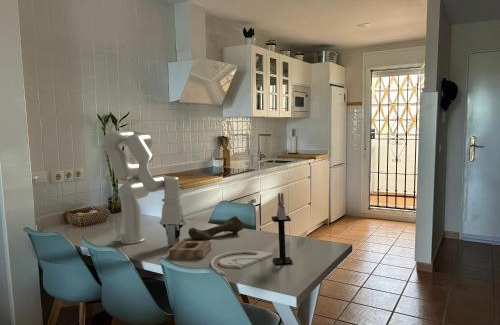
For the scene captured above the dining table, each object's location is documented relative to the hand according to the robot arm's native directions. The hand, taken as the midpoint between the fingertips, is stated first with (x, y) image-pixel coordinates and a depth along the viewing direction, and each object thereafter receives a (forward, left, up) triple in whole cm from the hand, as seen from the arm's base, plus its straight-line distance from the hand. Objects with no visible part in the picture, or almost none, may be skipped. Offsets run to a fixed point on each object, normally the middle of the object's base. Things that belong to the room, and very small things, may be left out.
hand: (173, 236), depth 199 cm
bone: (+18, +18, -5) cm, 26 cm away
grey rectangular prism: (0, 0, -3) cm, 3 cm away
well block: (+13, -12, -5) cm, 19 cm away
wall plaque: (+36, -21, -5) cm, 42 cm away
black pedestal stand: (+57, -22, -5) cm, 61 cm away
